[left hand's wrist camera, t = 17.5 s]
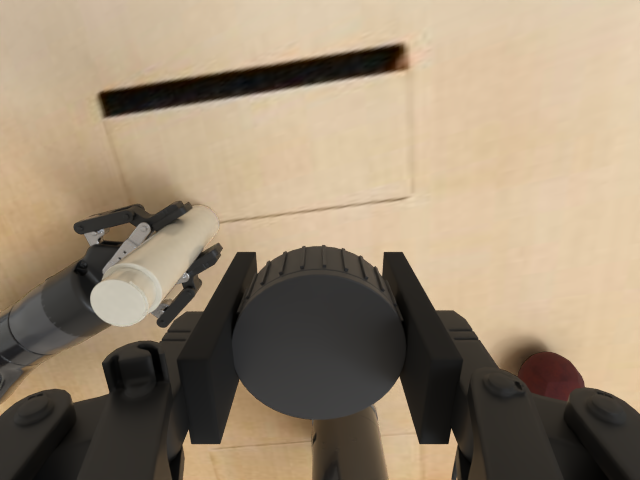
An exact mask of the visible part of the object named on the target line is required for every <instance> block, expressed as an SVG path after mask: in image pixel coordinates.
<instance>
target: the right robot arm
mask: <svg viewBox="0 0 640 480" xmlns="http://www.w3.org/2000/svg"><path fill="white" fill-rule="evenodd" d="M192 208H193V207H192V206H191V204H190V203H189V202H188V203H186V204H185V205H184V204H183V203H182V202H181V201H177V202H174V203H173V204H171V205H169V206H168V207H166V208H165V209H163V210H162V211H160V212H158V213H157V214H149V213H147V212H146V211H145V209H144V207H143V206H142V205H140V204H135V205H131V206H127V207H123V208H119V209H115V210H111V211H108V212H104V213H100V214H96V215H92V216H90V217H88V218H85V219H83V220H81V221H79V222H77V223H75V224H74V230H75V231H76V232H77V233H78V234H84V235H85V237H86V239H87V241H88V243H89V245H90V247H89V248H88V250H87V252H86V255H85V256H84V257H83V258H81V259H79V260H78V261H76V262H75V263H73V264H71V265H70V266H68V267H67V268H65V269H64V270H62V271H60V272H59V273H57V274H56V275H54V276H52V277H50V278H48V279H46V280H45V282H43V283H41V284H40V285H38V286H37V287H35V288H34V289H32V290H31V291H30V292H29V293H27V294H26V295H25V296H24V297H23V298H22V299H21V300H19V301H18V302H16V303H14V304H13V305H11V306H10V307H8V308H7V309H5V310H3V311H2V312H0V404H2V403H3V402H4V401H6V400H7V399H8V398H9V397H10V396H11V395H12V394H13V392H14V391H15V390H16V389H17V387H18V386H19V385H20V383H21V382H22V381H23V380H24V378H25V377H26V376H27V375H28V374H29V373H30V372H31V371H33V370H34V369H35V368H36V367H37V366H38V365H39V364H41V363H42V362H44V361H46V360H48V359H49V358H51V357H53V356H54V355H56V354H58V353H60V352H61V351H63V350H65V349H68V348H71V347H73V346H76V345H78V344H79V343H81V342H83V341H85V340H87V339H88V338H90V337H92V336H94V335H95V334H97V333H99V332H101V331H102V330H104V329H106V328H107V327H109V326H111V324H109V323H107V322H105V321H103V320H102V319H101V318H99V317H98V316H97V314H96V313H95V312H94V310H93V308H92V306H91V301H90V296H91V292H92V290H93V288H94V287H95V286H96V285H97V284H98V283H100V282H101V281H102V278H103V275H104V274H105V272H106V271H107V270H108V269H109V268H110V267H112V266H113V265H114V264H115V263H117V262H118V261H119V260H121V259H122V258H123V257H125V256H126V255H127V254H129V253H130V252H131V251H133V250H134V249H135V248H136V247H138V246H139V245H140V244H142V243H143V242H144V241H146V240H147V239H148V238H150V237H151V236H152V234H153V233H154V232H155V231H156V232H157V231H158V230H160V229H161V228H163V227H164V226H166V225H168V224H170V223H171V222H173V221H174V220H176V219H178V218H179V217H181V216H182V215H184V214H186V213H187V212H188V211H190V210H191V209H192ZM129 222H130V223H131V224H133V225H134V226H136V229H135V230H134V231H133V233H132V234H131V235H130V237H129V238H128V239H127V240H126V241H125V242H116V241H104V240H103V236H104V235H105V234H107V233H108V232H109V227H113V226H117V225H121V224H125V223H129ZM222 249H223V248H222V246H221V245H220V244H219V243H217V244H215V245H214V246H212V247H210V248H209V249H207V250H205V251H203V252H202V253H201V254H200V255H199V256H198V258H197V259H196V260H195V261H194V263H193V264H192V265H191V266H190V268H189V269H188V270H187V271H186V273H185V274H184V275H183V276H182V277H181V279H180V280H179V281H178V282H177V284H179V283H182V285H183V288H184V289H183V290H182V291H181V292H180V293H179V294H178V296H177V297H176V298H175V299H174V300H173V301H172V299H165V300H164V301H162V302H161V304H160V305H159V306H158V307H157V308H156V309H155V310H154V311H153V312H151V314H153V315H154V316H156V317H157V318H158V320H157V325H158V326H159V327H162V328H165V327H167V326H168V325H169V324H170V322H171V321H172V320H173V319H174V318H175V317H176V316H177V315H178V314H179V313H180V312H181V310H182V309H183V308H184V307H185V306H186V305H187V304H188V303H189V302H190V301H191V299H192V298H193V297H194V296H195V294H196V293H197V291H198V290H199V288H200V287H201V285H202V281H201V280H200V279H199V278H198V275H197V274H199V273H200V272H202V271H204V270H206V269H207V268H209V267H211V266H213V265H214V264H215V263H216V262H217V260H218V259H219V257H220V256H221V254H220V252H221V251H222ZM312 424H313V460H312V480H389V477H388V472H387V467H386V462H385V457H384V452H383V447H382V442H381V436H380V431H379V426H378V417H377V412H376V408H375V406H374V404H373V405H371V406H369V407H367V408H366V409H364V410H361V411H359V412H357V413H354V414H351V415H348V416H345V417H340V418H335V419H326V420H312ZM311 439H312V437H311Z"/></svg>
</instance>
